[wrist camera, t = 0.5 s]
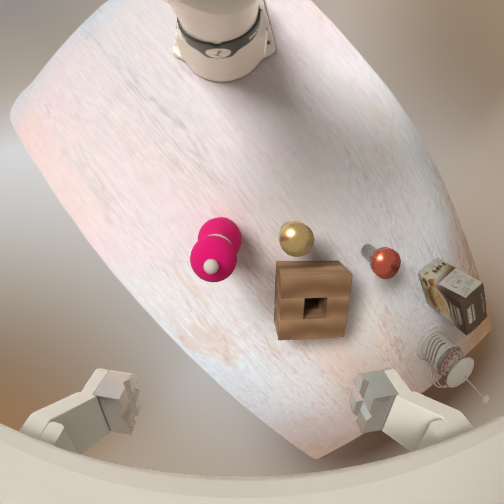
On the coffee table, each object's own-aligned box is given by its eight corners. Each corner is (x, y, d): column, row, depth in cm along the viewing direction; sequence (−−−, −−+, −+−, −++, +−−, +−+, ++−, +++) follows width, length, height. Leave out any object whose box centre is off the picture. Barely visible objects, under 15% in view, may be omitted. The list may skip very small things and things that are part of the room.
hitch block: (276, 261, 55) (281, 275, 48) (338, 260, 56) (352, 274, 48) (274, 319, 58) (278, 340, 51) (332, 317, 59) (343, 336, 51)
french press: (452, 328, 62) (510, 380, 38) (433, 366, 65) (481, 423, 40) (427, 324, 61) (488, 382, 37) (407, 364, 64) (456, 429, 39)
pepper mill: (224, 206, 52) (215, 225, 33) (249, 238, 54) (254, 274, 35) (193, 230, 53) (167, 262, 34) (217, 261, 55) (206, 308, 36)
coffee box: (416, 272, 57) (459, 301, 42) (437, 257, 56) (483, 281, 41) (426, 304, 59) (466, 336, 44) (446, 288, 59) (488, 317, 43)
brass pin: (274, 214, 53) (280, 222, 44) (302, 215, 53) (314, 223, 45) (273, 243, 54) (279, 256, 46) (301, 243, 55) (312, 256, 46)
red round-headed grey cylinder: (356, 237, 55) (376, 249, 46) (380, 237, 55) (402, 249, 46) (354, 263, 56) (372, 279, 47) (377, 263, 56) (398, 278, 47)
